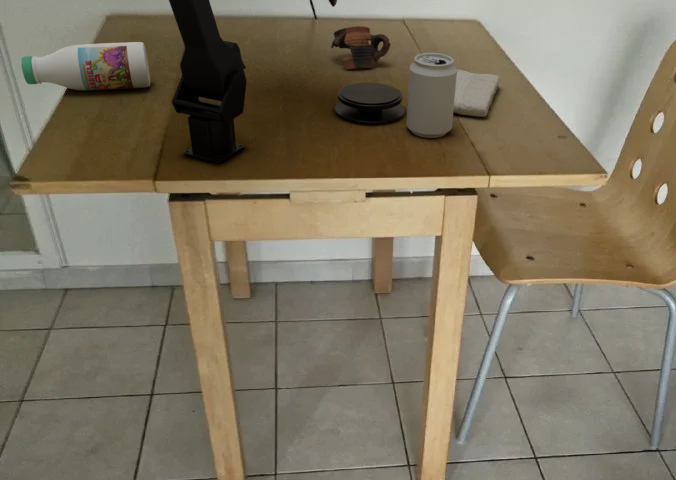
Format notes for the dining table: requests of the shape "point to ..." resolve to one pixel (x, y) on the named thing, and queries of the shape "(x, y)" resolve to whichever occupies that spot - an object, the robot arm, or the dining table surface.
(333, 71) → the dining table surface
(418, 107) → the can
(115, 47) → the milk bottle
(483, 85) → the washcloth
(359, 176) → the dining table surface
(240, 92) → the robot arm
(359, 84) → the stand
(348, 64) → the pottery mug
